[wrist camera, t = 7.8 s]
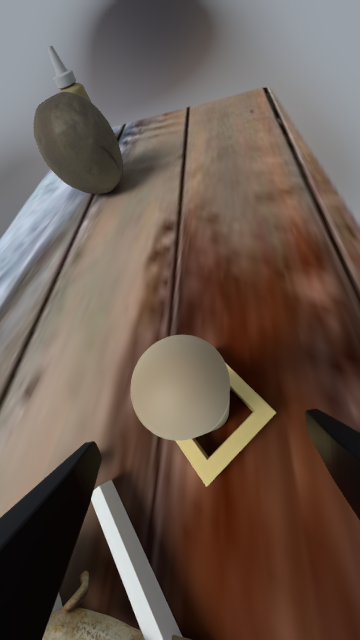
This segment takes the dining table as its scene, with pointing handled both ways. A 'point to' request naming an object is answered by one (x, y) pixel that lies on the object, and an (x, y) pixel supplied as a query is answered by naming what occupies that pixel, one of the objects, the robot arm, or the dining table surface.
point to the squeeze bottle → (65, 76)
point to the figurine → (88, 622)
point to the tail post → (181, 388)
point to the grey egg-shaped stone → (78, 143)
